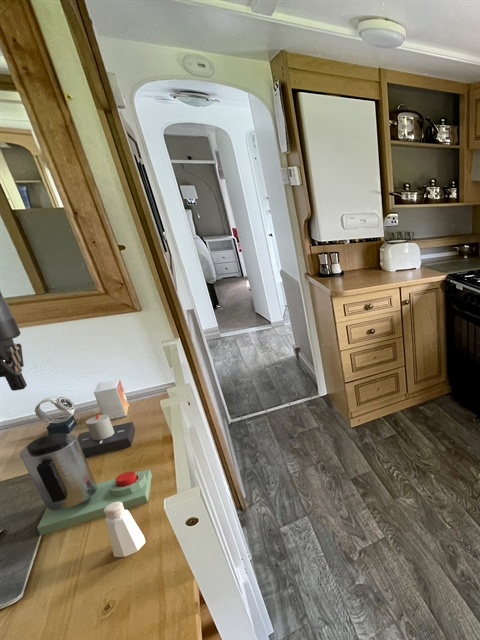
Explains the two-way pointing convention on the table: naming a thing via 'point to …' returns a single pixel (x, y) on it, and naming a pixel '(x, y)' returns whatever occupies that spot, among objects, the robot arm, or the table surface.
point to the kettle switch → (126, 479)
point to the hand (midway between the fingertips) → (19, 388)
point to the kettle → (59, 470)
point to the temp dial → (100, 427)
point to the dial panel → (107, 440)
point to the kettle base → (98, 503)
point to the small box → (112, 399)
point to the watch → (61, 423)
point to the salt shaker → (122, 530)
